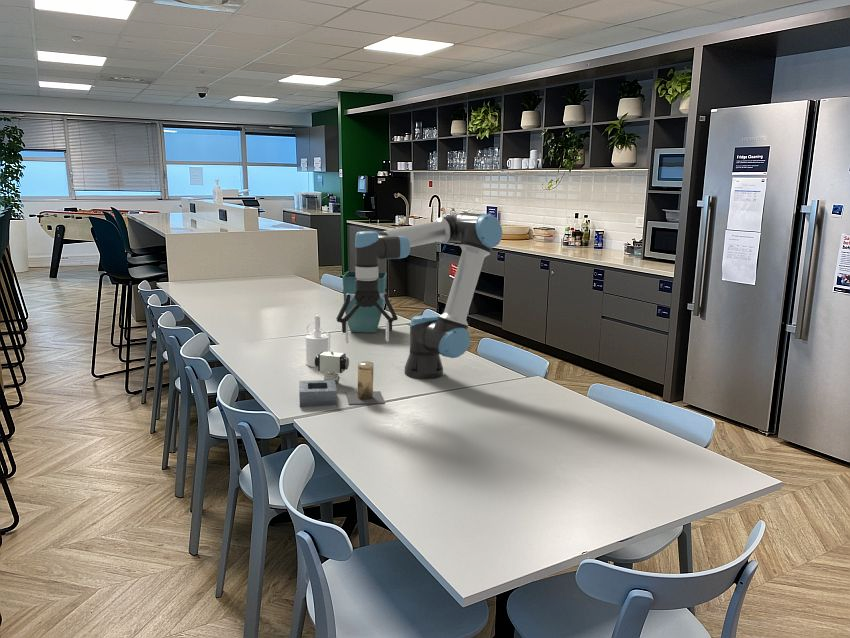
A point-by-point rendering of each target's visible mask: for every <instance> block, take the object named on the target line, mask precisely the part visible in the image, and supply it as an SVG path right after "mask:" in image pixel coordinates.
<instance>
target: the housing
mask: <svg viewBox="0 0 850 638" xmlns="http://www.w3.org/2000/svg"><path fill="white" fill-rule="evenodd" d="M298 383H299V385H298V388H299V390H298V391H299V392H298V394H299V396H298V398H299V399H298V401H299V407H301V408H303V407H327V406H328V407H330V406H331V407H332V406H337V404H338V403H337V402H338V391H337V385H336V384H337V383H336V384H335V380H324V379H323V380H321V379H320V380H319V379H317V380H299V382H298Z"/></svg>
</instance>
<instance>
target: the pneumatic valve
mask: <svg viewBox="0 0 850 638" xmlns="http://www.w3.org/2000/svg"><path fill="white" fill-rule="evenodd" d="M346 355H347V354H346V353H343V352H334V350H330V352H329V351H328V352H321V353H320V354H318V355H317V356H316V357H315V366H316V367H315V368H317V371H318V372H322V373H323V372H326V374H325V375H324V376H323V380H335V384H337V383H339V382H340V379H341V378H340V375H339V374H342V373H344V372H345V371H346V370H348V369H349V366H350V359H349V357H347V356H346Z"/></svg>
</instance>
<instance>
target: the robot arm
mask: <svg viewBox="0 0 850 638" xmlns="http://www.w3.org/2000/svg"><path fill="white" fill-rule="evenodd" d="M502 238H503V228H502V225H501V222H500V220H499V219H498V218H497V217H495V216H494V215H491V214H486V213H473V212H459V213H454V214H452V215H447V216H442V217H438V218H436V220H435V221H431V222H425V223H420V224H419V223H418V224H415V225H409V226H403V227H399V228H392V229H388V230H384V231H373V230H372V231H371V230H370V231H369V230H367V231H365V230H363V231H357V232H356V233H355V238H354V250H355V251H354V254H355V255H354V257H355V258H354V260H355V261H354V262H355V267H354V268H355V270H354V271H356V278H357V279H356V292H355V294H349V293H347V294H346V300H345V302H344V301H343V303H342V306H341V308H340V310H339V313H338V314H337V317H336V322H337V323H341V331H342V333H343V334H345V343H346V344H349V326H348V322H347V321H348V320H349V319H350V317H351V316H352V315H353V314H354V313H355V311H356V310H357V309H358V308H359V307H360V306H362V307H372V306H374V305H375V306H376V307H377V308H378V310H379V311H380V312H381V313H382V314H381V315H382V316H383V317H384V318H385V319H386V320H385V341H386V342H387V343H388V342H390V332H392V331H393V322H394V321H398V315H397V313H396V312H395V309H394V308H393V306H392V304H391V302H390V300H389V295H388V294H389V293H387V292H386V291H385V292H384V293H382V294H379V292H378V279H377V278H378V272H379V261H382V260H397V259H398V260H400V259H404V258H407V257H408V256H409V255H410V253H411V248H413V247H418V246H423V245H427V244H433V243H438V242H440V243H442V244H446V243H459V247H460V248H461V254H460V258H459V261H458V264H457V267H456V271H455V274H454V278H453V280H452V284H451V288H450V290H449V294H448V298H447V300H446V303H445V306H444V307H445V308H444V311H443V312H442V314H439V315H438V314H437V315H436V314H425V315H424V314H422V315H414V316H412V317H411V319H410V324H409V354H408V357H407V360H406V363H405V365H404V374H405V375H406V376H407V377H409V378H414V379H419V380H420V379H423V380H424V379H425V380H429V379H436V378H441V377H442V376H443V375H444V366H443V364H442V359H441V356H442V357H445V358H451V359H455V358H460V357H461V356H462V355H464V354H465V353H466V352H467V350H468V349H469V347H470V343H471V336H470V332H469V331H468V329H469V324H468V321H467V317H468V313H469V311H470V307H471V304H472V300H473V298H474V294H475V290H476V287H477V285H478V281H479V277H480V275H481V270H482V267H483V264H484V261H485V258H486V257H488V256H490V255H491V251H492V249H493V248H495V247H496V246H498V245H499V244H500V243H501V240H502ZM380 297H381V298H382V299H383V300H384V304H386V306H387V309H388V310H389V312H390V314H391V316H390V315H389V314H388V313H387V312H386V310H385V309H384V307H383V308H382V307H381V306H380V305H379V304H378V302H377V301H378V299H379V298H380ZM353 298H355V299H356V301H357V302H356V303H355V304H354V306H353V307H352V308H351V309H350V311H349V312H348V313H347V314H346V313H345V311H346V309H347V307H348V304H349V302H350V301H351V300H352V299H353ZM343 316H344V317H343ZM440 355H441V356H440Z"/></svg>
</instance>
